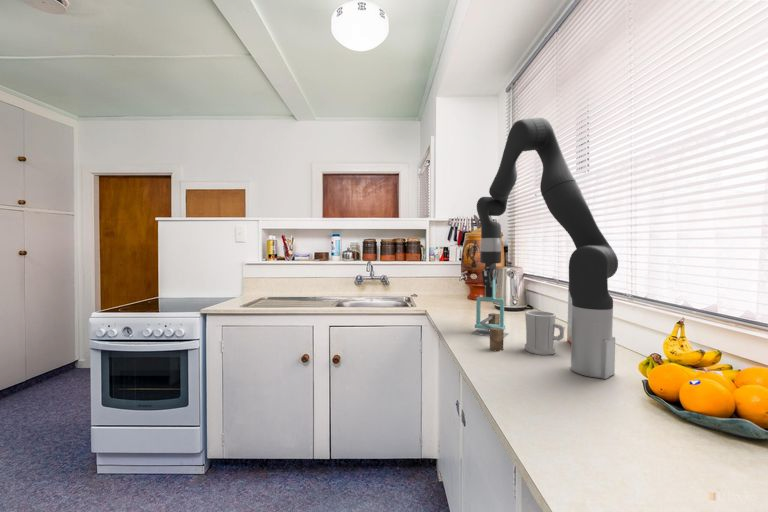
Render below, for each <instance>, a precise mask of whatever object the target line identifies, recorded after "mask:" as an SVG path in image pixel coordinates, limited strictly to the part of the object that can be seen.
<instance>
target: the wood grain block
mask: <svg viewBox="0 0 768 512" xmlns="http://www.w3.org/2000/svg"><path fill="white" fill-rule="evenodd" d="M491 315H494V318H492V319H491V320H489V321H487V323H488V324H496V325H500V313H494V312H492V313H488V317H490V316H491ZM488 317H487V318H488ZM504 331H505V329H500V328H492V329H490V336H489V350H490V349H492V350H491V351H494V350H496V351H495V352H501V351H503V350H504V338H503V335H504V333H505V332H504ZM500 350H501V351H500Z"/></svg>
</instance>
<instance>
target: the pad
mask: <svg viewBox="0 0 768 512" xmlns="http://www.w3.org/2000/svg"><path fill="white" fill-rule="evenodd" d="M471 333H474V334H473V335H477V334H482V335H481V336H485V335H489V336H488V337H490V331H488V330H487V329H479V328H476V329H475V330H473V331H471ZM506 335H507V336H508V335H509V333H508V332H504V335H503V339H505V338H506V337H507V336H506ZM505 336H506V337H505ZM504 337H505V338H504Z"/></svg>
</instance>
